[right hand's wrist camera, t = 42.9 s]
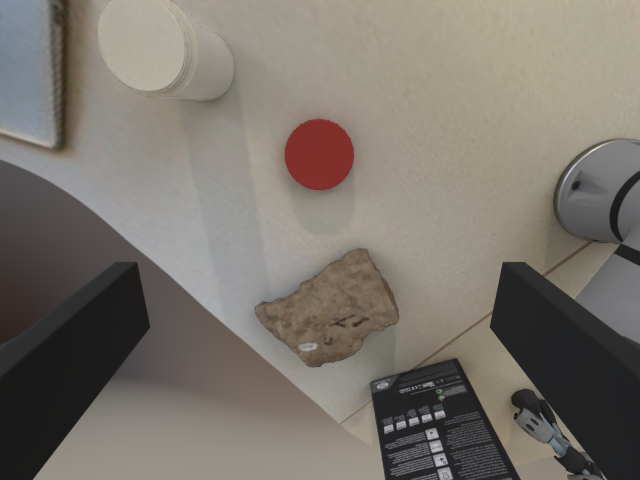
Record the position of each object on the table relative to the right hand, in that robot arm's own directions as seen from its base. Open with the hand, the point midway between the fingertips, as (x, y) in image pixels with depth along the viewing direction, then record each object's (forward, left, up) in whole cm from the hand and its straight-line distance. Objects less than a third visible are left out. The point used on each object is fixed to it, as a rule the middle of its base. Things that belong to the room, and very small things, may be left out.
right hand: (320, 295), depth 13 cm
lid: (0, 0, -39) cm, 39 cm away
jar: (+18, +7, -41) cm, 45 cm away
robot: (-61, -8, -41) cm, 74 cm away
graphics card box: (-44, +8, -41) cm, 61 cm away
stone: (-21, +12, -41) cm, 48 cm away
